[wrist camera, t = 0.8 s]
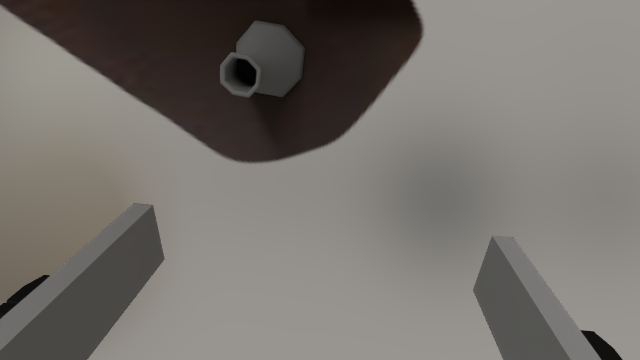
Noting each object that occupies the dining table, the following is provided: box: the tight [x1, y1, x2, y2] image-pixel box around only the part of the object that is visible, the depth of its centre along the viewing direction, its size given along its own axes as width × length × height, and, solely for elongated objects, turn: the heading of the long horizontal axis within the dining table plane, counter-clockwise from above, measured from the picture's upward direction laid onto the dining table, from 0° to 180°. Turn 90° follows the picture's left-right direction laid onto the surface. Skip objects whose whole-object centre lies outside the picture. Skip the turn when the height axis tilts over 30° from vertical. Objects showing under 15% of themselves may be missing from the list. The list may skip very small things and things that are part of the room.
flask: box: [220, 20, 305, 98], centre depth 29 cm, size 7×7×10 cm
